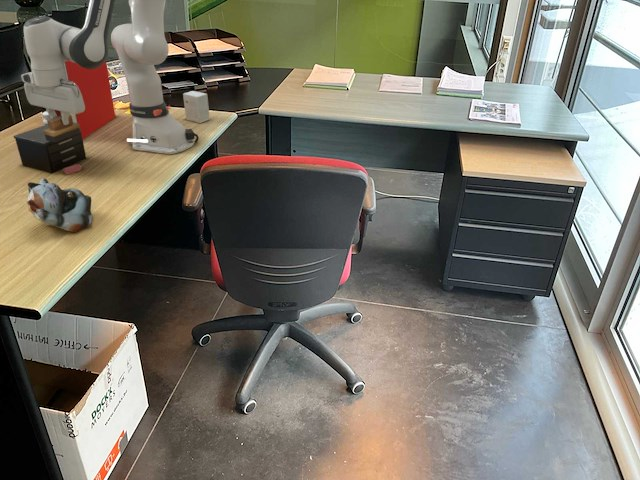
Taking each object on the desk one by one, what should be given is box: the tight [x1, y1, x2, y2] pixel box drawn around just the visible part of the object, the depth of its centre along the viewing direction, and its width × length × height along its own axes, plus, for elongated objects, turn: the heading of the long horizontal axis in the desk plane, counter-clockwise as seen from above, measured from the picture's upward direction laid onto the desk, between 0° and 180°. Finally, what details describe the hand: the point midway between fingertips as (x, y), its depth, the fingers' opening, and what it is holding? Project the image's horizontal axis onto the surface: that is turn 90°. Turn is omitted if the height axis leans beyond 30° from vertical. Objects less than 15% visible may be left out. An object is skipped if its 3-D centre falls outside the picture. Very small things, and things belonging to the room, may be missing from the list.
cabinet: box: [13, 124, 87, 175], centre depth 173 cm, size 14×14×10 cm
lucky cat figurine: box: [26, 178, 94, 233], centre depth 137 cm, size 15×12×14 cm
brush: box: [43, 115, 80, 143], centre depth 165 cm, size 4×10×6 cm, turn 154°
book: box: [54, 59, 116, 139], centre depth 197 cm, size 27×8×32 cm, turn 172°
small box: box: [182, 90, 211, 124], centre depth 213 cm, size 8×6×10 cm
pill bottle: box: [41, 110, 51, 126], centre depth 190 cm, size 5×5×10 cm
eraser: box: [62, 163, 82, 175], centre depth 169 cm, size 5×2×1 cm, turn 140°
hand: (60, 123), depth 164 cm, fingers closed on brush, 2 cm apart
